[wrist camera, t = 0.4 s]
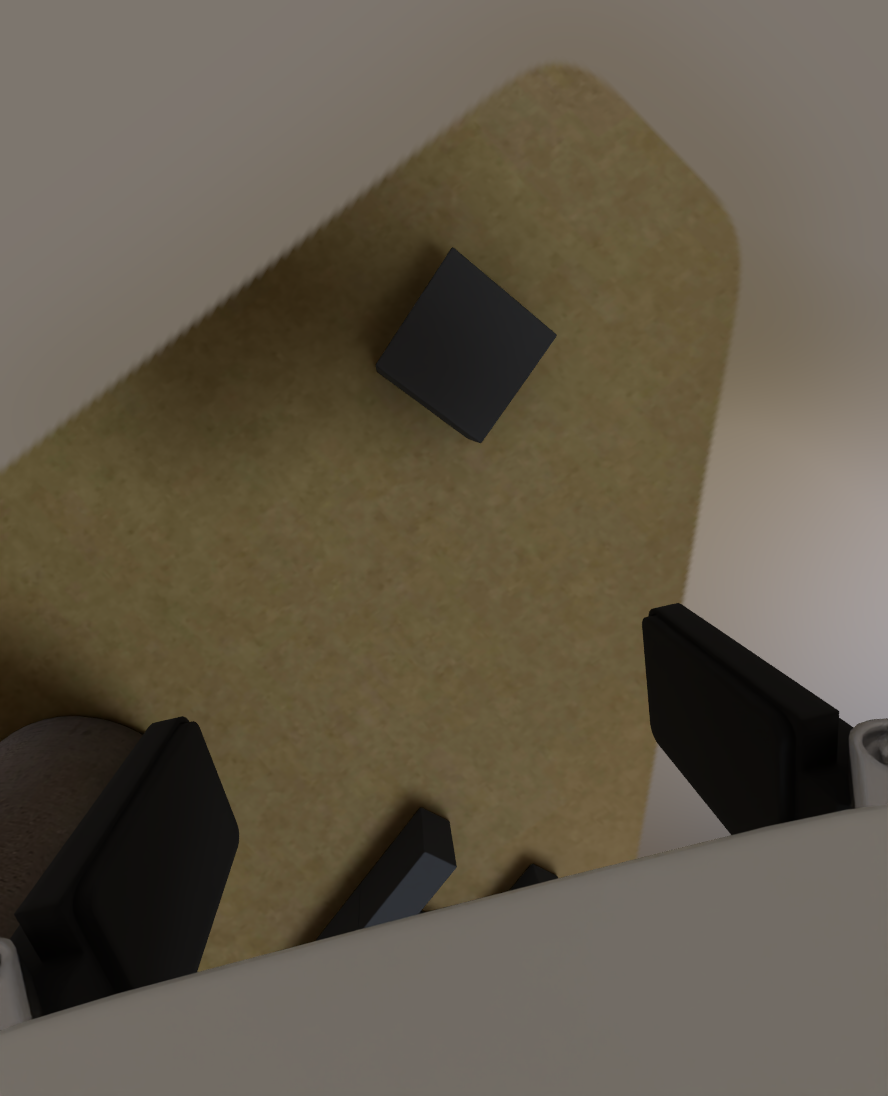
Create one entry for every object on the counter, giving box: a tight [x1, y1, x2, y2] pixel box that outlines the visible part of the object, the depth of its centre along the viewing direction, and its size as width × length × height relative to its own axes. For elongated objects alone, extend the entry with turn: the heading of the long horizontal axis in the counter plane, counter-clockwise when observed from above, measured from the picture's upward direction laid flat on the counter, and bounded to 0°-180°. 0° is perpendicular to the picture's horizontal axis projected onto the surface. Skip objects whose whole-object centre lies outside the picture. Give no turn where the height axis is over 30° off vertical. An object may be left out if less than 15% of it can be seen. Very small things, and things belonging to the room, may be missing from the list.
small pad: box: [376, 248, 557, 443], centre depth 21 cm, size 5×5×3 cm
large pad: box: [316, 808, 558, 941], centre depth 29 cm, size 14×10×3 cm
